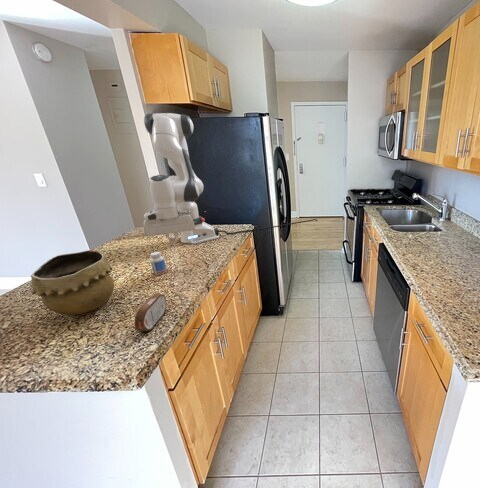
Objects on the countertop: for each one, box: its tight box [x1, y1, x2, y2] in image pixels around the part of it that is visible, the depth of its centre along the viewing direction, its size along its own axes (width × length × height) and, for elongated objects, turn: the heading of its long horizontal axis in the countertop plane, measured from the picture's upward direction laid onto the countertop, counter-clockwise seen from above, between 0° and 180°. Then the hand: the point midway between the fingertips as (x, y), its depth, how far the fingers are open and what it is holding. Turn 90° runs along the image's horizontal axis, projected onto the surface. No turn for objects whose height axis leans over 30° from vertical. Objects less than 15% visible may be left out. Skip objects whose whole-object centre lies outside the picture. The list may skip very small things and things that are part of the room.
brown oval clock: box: [134, 293, 167, 332], centre depth 87 cm, size 15×3×8 cm, turn 5°
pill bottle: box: [149, 251, 168, 276], centre depth 120 cm, size 6×5×10 cm
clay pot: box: [30, 249, 115, 316], centre depth 91 cm, size 21×21×20 cm
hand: (173, 241), depth 121 cm, fingers closed
